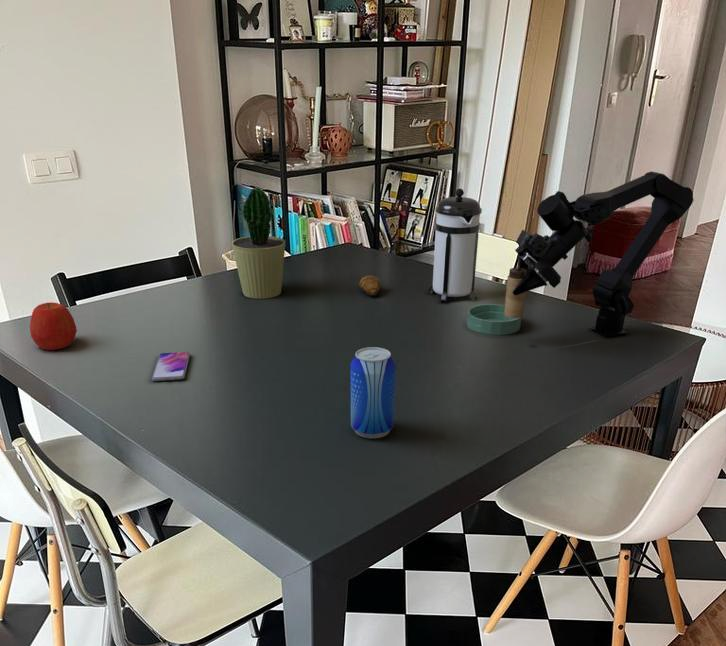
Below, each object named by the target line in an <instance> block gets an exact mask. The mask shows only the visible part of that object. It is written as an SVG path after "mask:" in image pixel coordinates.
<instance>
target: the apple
mask: <svg viewBox="0 0 726 646" xmlns="http://www.w3.org/2000/svg"><path fill="white" fill-rule="evenodd" d="M29 332H30V337H31V339H32V340H33V343H34V344H35V345H36V346H37V347H39V348H40V349H41V350H47V351H58V350H60V349H64V348H67V347H68V346H71V345H72V344H73V342H74V339H75V337H76V335H77V332H78V330H77V326H76V322H75V319H74V317H73V315H72V314H71V312H70V311H69V309H68V308H67V307H66V306H65V305H64V304H61V303H59V302H52V301H50V302H43V303H41V304H38V305H36V307H34V308H33V309H32V313H31V317H30V322H29Z"/></svg>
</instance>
